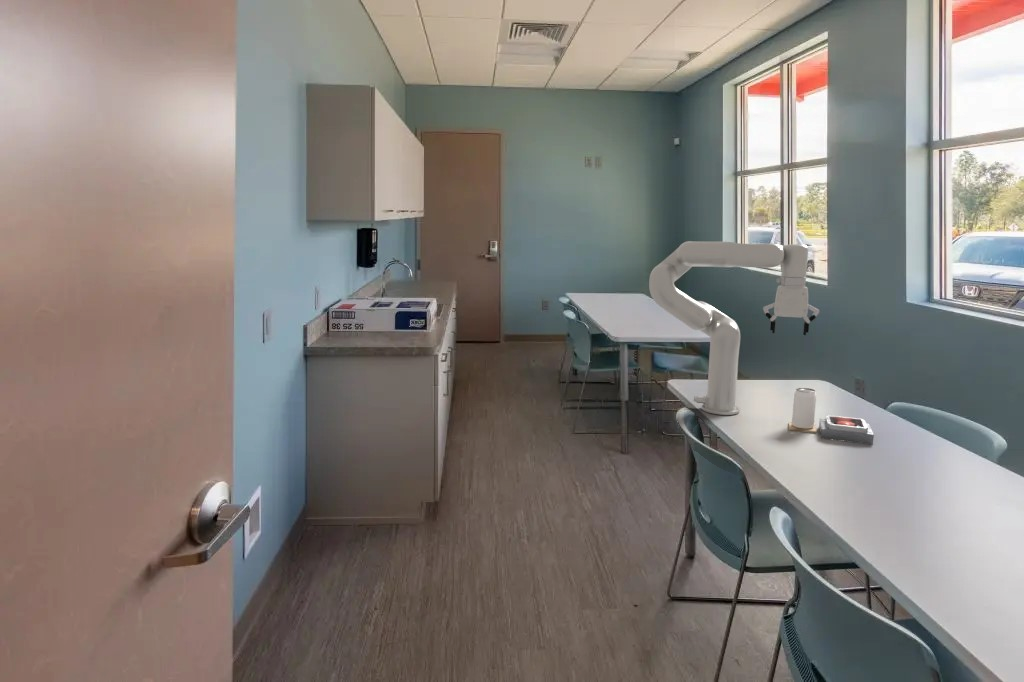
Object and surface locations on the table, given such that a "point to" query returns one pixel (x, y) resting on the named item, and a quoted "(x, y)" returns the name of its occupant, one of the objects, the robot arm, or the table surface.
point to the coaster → (802, 429)
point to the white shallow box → (846, 429)
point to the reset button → (845, 423)
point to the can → (804, 408)
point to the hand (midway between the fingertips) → (788, 333)
